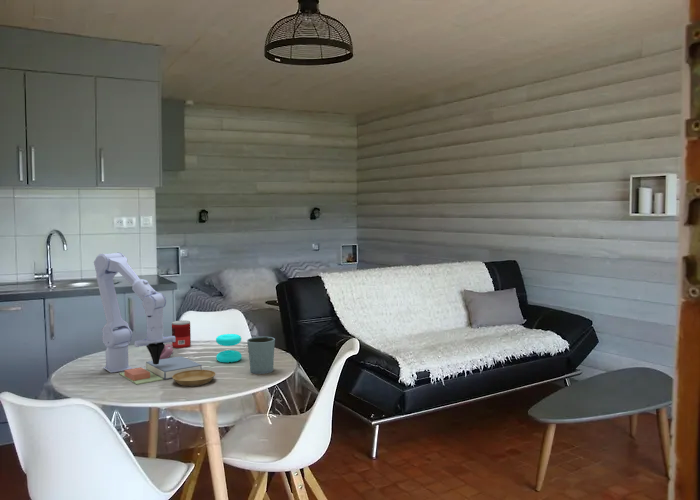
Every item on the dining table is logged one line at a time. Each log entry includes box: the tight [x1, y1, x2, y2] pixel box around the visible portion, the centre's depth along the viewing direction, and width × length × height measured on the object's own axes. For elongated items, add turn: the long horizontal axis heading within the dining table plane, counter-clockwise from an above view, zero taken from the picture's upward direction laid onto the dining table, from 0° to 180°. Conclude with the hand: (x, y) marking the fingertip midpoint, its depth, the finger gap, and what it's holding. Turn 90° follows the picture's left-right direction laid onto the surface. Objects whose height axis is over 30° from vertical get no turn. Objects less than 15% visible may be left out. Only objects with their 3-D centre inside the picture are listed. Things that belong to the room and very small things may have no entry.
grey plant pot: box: [246, 336, 276, 375], centre depth 224 cm, size 10×10×12 cm
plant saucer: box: [171, 369, 217, 387], centre depth 210 cm, size 15×15×3 cm
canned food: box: [171, 319, 192, 349], centre depth 267 cm, size 8×8×11 cm
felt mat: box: [118, 368, 164, 386], centre depth 217 cm, size 18×9×1 cm, turn 39°
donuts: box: [215, 333, 243, 364], centre depth 241 cm, size 10×10×10 cm
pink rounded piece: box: [159, 343, 174, 360], centre depth 244 cm, size 10×5×7 cm, turn 22°
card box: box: [123, 366, 150, 381], centre depth 215 cm, size 9×6×2 cm, turn 39°
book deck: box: [145, 355, 203, 380], centre depth 224 cm, size 18×14×3 cm
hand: (155, 363), depth 219 cm, fingers closed
